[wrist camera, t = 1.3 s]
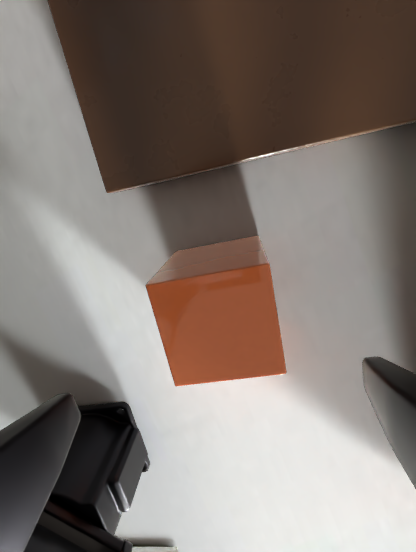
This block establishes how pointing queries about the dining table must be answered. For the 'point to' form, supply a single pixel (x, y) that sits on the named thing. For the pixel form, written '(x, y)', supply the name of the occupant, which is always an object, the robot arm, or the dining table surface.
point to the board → (232, 78)
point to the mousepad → (154, 549)
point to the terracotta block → (218, 313)
